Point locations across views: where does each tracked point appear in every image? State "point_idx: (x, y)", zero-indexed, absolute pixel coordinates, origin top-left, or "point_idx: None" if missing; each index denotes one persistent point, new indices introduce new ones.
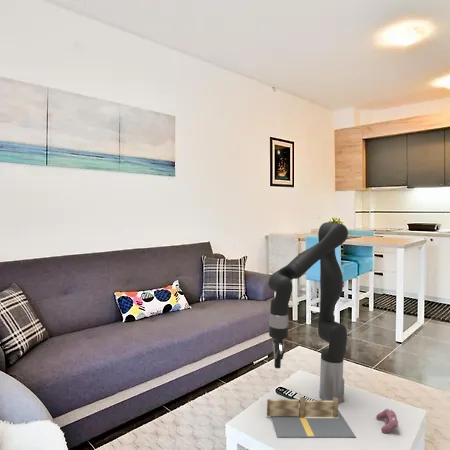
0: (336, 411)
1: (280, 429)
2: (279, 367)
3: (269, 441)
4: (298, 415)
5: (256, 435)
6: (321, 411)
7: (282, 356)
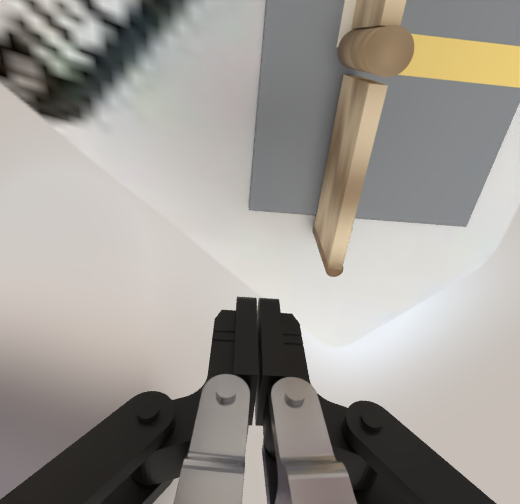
0: None
1: (426, 201)
2: (276, 308)
3: (470, 256)
4: (358, 76)
5: (420, 290)
6: None
7: (463, 485)
